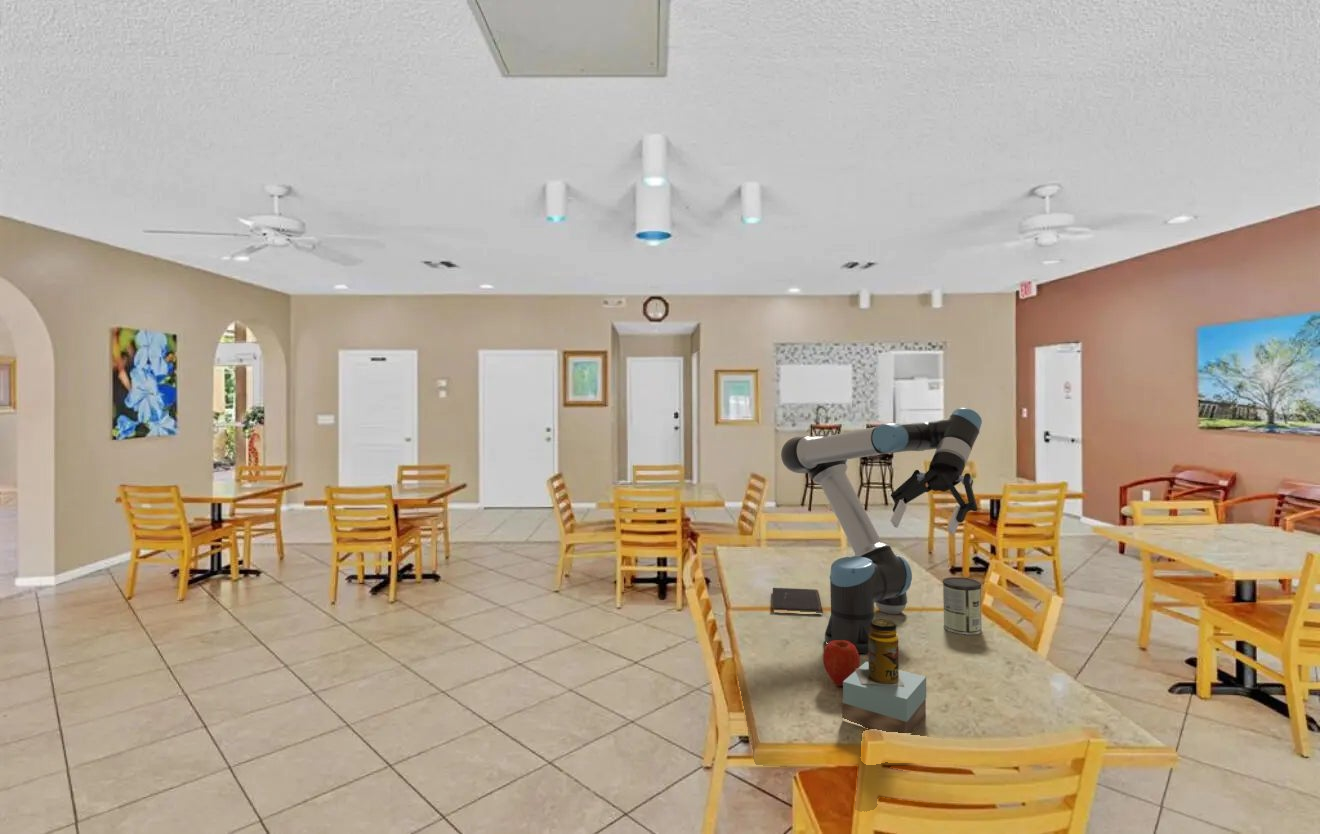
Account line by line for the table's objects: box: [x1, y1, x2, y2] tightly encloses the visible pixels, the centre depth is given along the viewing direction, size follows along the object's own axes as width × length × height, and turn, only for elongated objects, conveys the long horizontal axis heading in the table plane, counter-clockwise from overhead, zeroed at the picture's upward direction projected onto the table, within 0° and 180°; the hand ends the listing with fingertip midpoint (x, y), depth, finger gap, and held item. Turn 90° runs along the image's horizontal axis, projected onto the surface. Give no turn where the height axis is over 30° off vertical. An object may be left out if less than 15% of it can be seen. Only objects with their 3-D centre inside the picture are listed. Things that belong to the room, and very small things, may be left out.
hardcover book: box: [771, 587, 824, 614], centre depth 209 cm, size 16×23×2 cm
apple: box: [822, 640, 861, 687], centre depth 146 cm, size 9×8×11 cm
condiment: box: [856, 618, 904, 686], centre depth 130 cm, size 7×8×12 cm
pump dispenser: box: [874, 591, 908, 615], centre depth 199 cm, size 10×10×15 cm
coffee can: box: [942, 576, 983, 636], centre depth 182 cm, size 10×10×14 cm
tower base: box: [841, 698, 927, 734], centre depth 130 cm, size 13×13×4 cm
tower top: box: [842, 661, 927, 722], centre depth 130 cm, size 13×13×4 cm
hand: (921, 528), depth 144 cm, fingers open, 13 cm apart
